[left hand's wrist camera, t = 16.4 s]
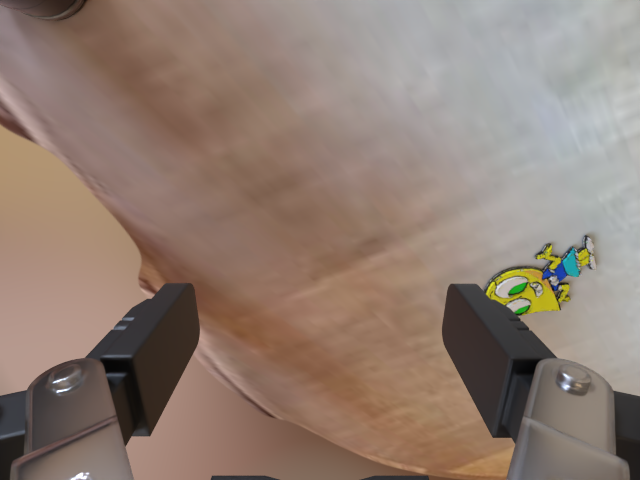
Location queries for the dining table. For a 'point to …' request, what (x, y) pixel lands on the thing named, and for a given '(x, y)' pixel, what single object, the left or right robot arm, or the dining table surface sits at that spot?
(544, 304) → the toy
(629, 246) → the dining table surface
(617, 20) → the dining table surface
